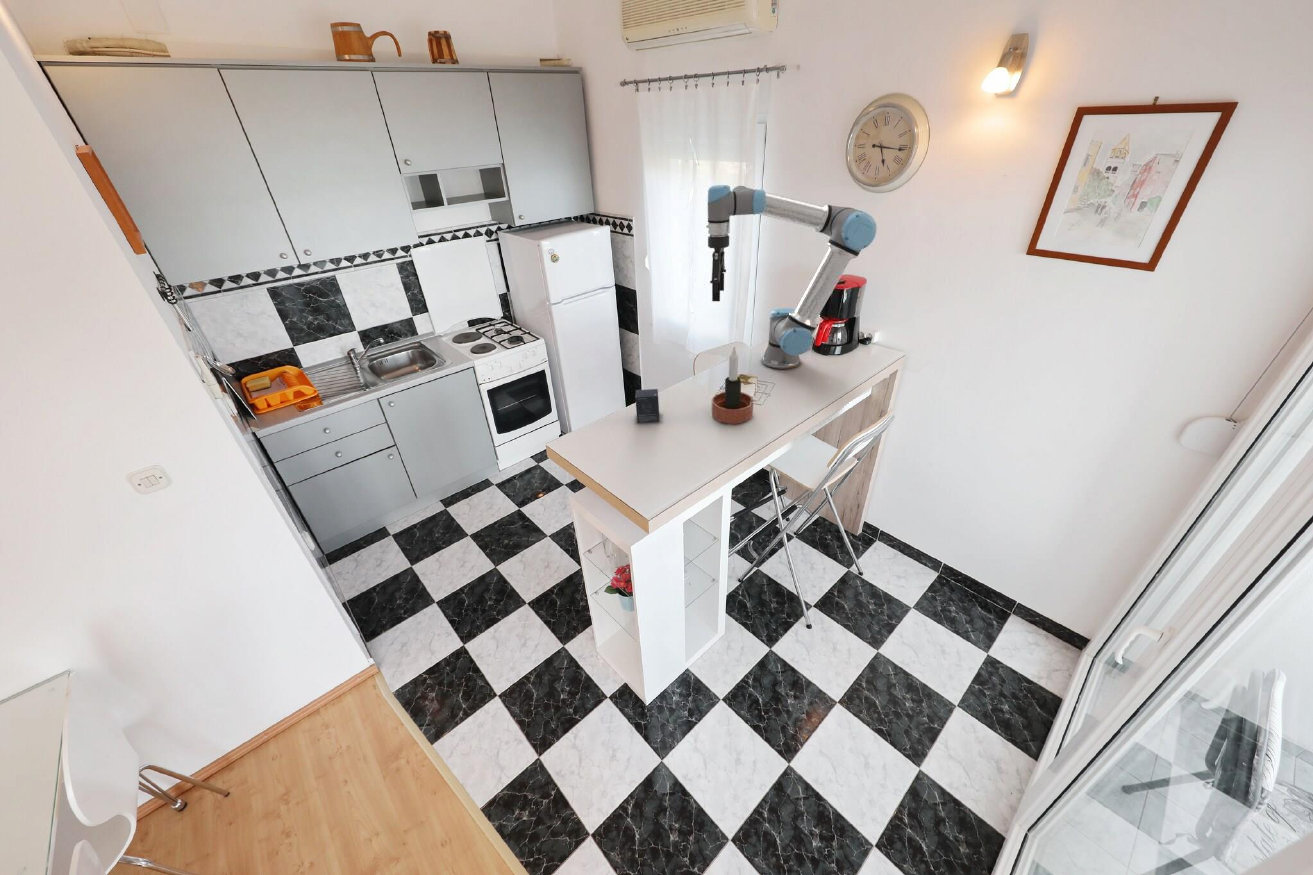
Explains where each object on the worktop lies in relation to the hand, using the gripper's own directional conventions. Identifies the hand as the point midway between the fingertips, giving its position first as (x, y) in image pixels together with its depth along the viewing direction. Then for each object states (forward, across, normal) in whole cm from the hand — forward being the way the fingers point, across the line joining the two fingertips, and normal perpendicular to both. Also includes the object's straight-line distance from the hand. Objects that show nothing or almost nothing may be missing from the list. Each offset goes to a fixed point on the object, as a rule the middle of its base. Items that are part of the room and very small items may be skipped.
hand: (718, 295), depth 186 cm
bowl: (+34, +29, +8) cm, 46 cm away
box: (+34, +35, -21) cm, 53 cm away
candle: (+34, +29, +8) cm, 45 cm away
